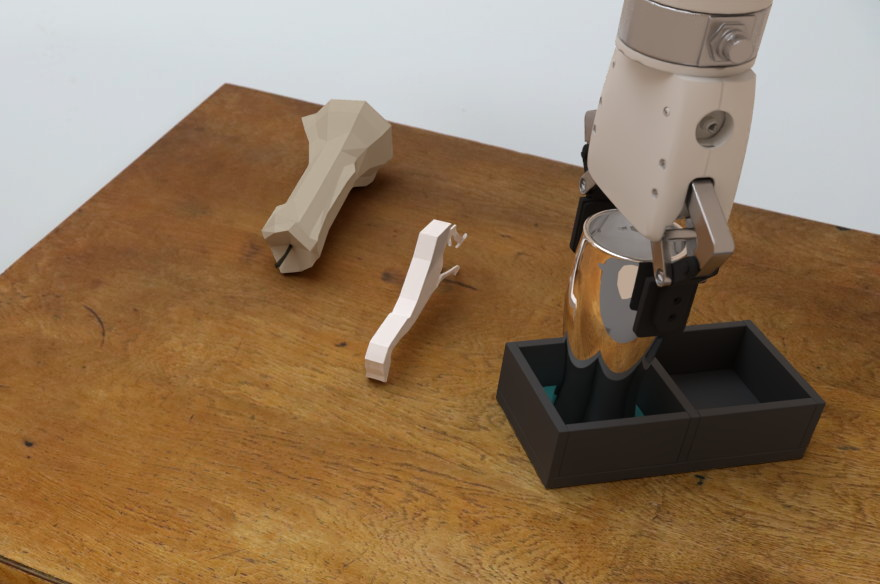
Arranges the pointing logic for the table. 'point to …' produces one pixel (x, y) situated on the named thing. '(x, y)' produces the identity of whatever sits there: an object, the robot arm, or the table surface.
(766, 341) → the divided box
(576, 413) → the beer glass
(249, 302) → the table surface
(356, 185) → the faceted club
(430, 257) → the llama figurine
